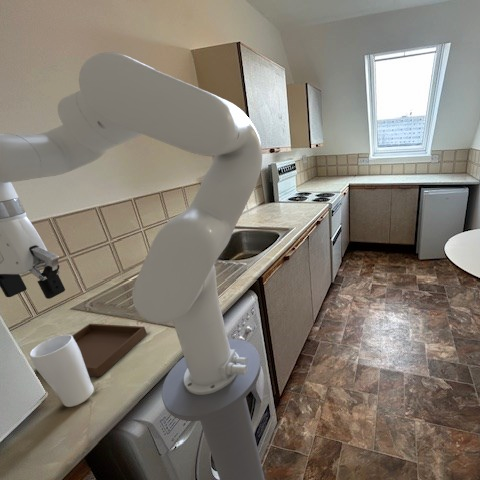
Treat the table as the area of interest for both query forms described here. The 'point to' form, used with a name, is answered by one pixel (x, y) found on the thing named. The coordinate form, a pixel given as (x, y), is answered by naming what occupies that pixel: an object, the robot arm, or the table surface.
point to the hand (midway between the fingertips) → (36, 294)
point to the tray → (106, 345)
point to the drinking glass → (63, 369)
